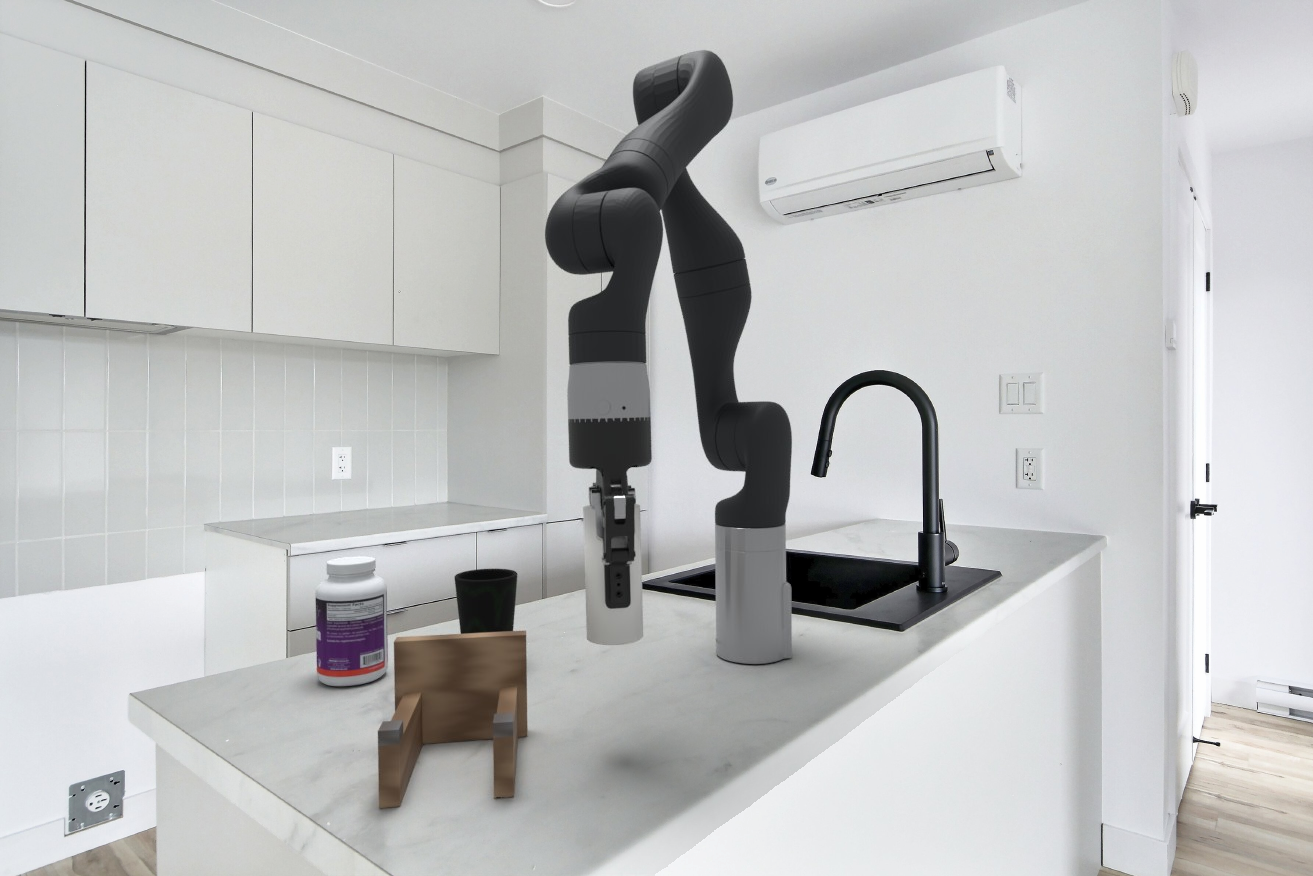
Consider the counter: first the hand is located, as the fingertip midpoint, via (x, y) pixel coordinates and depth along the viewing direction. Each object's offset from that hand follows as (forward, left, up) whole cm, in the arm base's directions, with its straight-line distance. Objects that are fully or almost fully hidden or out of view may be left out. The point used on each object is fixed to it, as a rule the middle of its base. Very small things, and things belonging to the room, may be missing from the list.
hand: (614, 598), depth 69 cm
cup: (+13, -27, -15) cm, 34 cm away
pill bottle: (+29, -27, -15) cm, 43 cm away
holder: (+14, -1, -15) cm, 20 cm away
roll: (0, 0, -4) cm, 4 cm away
